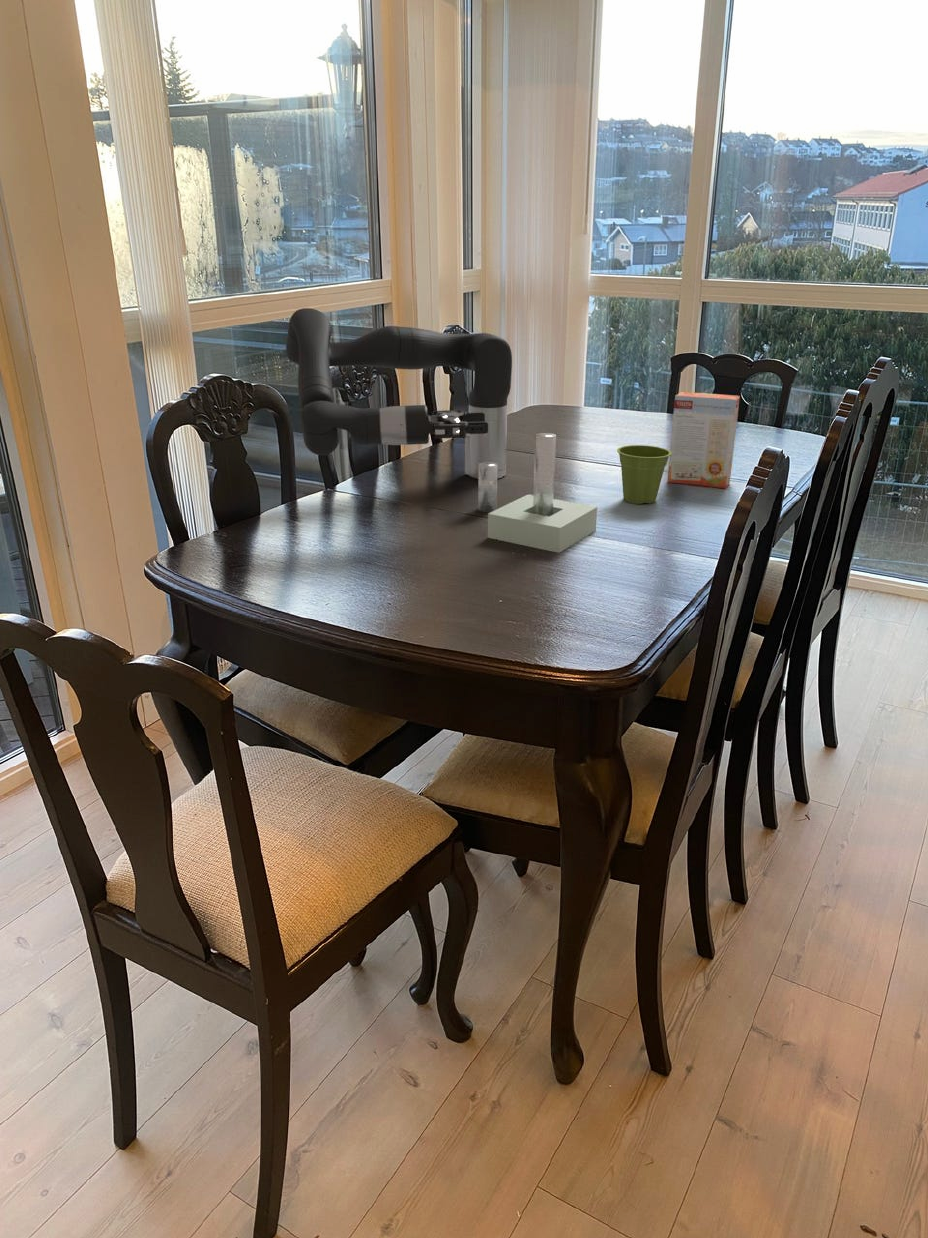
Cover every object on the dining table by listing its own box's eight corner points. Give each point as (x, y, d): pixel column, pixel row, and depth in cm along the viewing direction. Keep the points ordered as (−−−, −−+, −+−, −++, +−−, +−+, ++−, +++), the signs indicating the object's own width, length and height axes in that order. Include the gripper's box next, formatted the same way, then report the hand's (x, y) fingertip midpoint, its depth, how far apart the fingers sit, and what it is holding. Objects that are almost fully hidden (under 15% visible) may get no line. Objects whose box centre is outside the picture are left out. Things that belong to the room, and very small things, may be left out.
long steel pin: (528, 534, 182) (531, 435, 173) (537, 529, 185) (541, 432, 176) (545, 538, 180) (550, 438, 171) (555, 533, 183) (559, 434, 174)
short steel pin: (474, 510, 197) (475, 464, 193) (484, 505, 200) (485, 461, 196) (490, 513, 195) (491, 467, 191) (500, 508, 198) (500, 463, 194)
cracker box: (730, 483, 217) (741, 394, 208) (725, 489, 212) (736, 399, 203) (672, 476, 222) (680, 390, 213) (666, 482, 217) (674, 394, 208)
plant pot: (666, 509, 197) (671, 458, 193) (612, 506, 200) (615, 455, 195) (666, 494, 208) (671, 445, 203) (614, 491, 210) (618, 443, 206)
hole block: (487, 537, 180) (488, 513, 178) (527, 517, 192) (528, 494, 190) (559, 552, 172) (560, 527, 170) (595, 530, 184) (597, 506, 182)
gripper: (403, 413, 170) (489, 410, 170) (403, 398, 183) (483, 396, 183) (405, 453, 173) (489, 450, 174) (405, 435, 186) (483, 433, 186)
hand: (486, 422), depth 178 cm, fingers open, 8 cm apart
